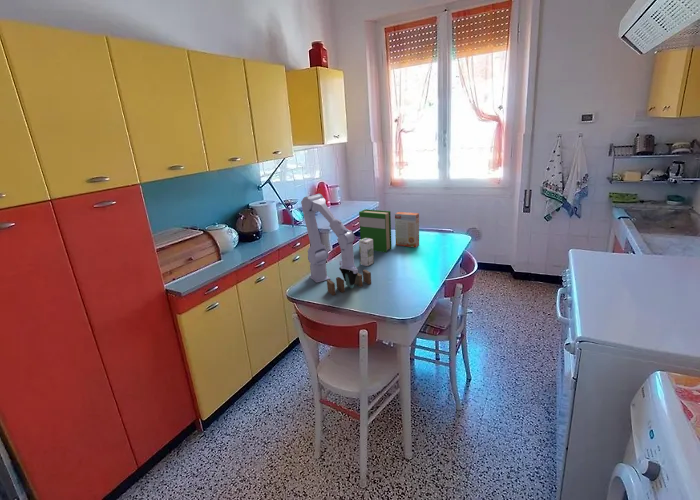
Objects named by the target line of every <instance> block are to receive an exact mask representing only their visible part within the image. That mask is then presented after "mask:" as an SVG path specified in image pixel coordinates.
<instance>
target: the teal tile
mask: <svg viewBox="0 0 700 500" xmlns="http://www.w3.org/2000/svg"><path fill="white" fill-rule="evenodd" d="M345 279H346V281H345V286H347V287H348V288H350V289H353V288H354V286H355V284H354V285H350V283H349V278H348V275H347V274H346V273H345Z"/></svg>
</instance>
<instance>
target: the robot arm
mask: <svg viewBox="0 0 700 500" xmlns="http://www.w3.org/2000/svg"><path fill="white" fill-rule="evenodd" d="M326 202H327V201H326V199H325V198H324V196H323V194H321V193H319V192H318V193H317V194H312V195H309V196H304V197H303V198H302V199H301V202H300V203H301V208H302V213H303V219H304V222H305V226H306V231H307V234H308V235H307V236H308V239H309V243H310V246H309V248H308V250H307V260H308V262H309V264H310V265H309V267H310V268H309V270H310V275H309V279H312V280H313V281H314V282H315V283H321V282H323V281H324V282H325V281H327V280H331V277H330V276H328V271H327V270H328V269H327V261H328V258H329V252H328V250H327V247H326V245H325V244H323V243H322V241H321V237H320V231H319V227H318V223H317V218H316V212H319V213H320V214H321V215H322V216H323V217H324V219H325V220H326V221H328V223H329V229H331V230H332V232H333V233H334V235H335V237H336V239H337V243H338V245H339V248H340V255H341V260H339V265H340V267H339V271H340V273H341V274H342V277H343V278H342V279H343V280H344V282H346V279H345V273H346V274H347V275H348V278H349V283H350V285H354V286H355V285H356V284H355V279H356V276H357V274H358V273H359V270H358V268H357V267H356V265H355V259H354V257H355V256H354V244H353V243H354V242H355V240H356V236H355V234H354V231H352V230H349V229H348V228H347V227H346V226H345V224H344V223H343V222H342V221H341V219H339V218H335V216H334V214H333V212H332V211H331V210H330V208H329V207H328V205H327V204H326Z"/></svg>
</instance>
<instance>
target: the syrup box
mask: <svg viewBox="0 0 700 500" xmlns="http://www.w3.org/2000/svg"><path fill="white" fill-rule="evenodd" d="M358 244H359V245H358V248H359V265H361V266H365V267H370V266H371V265H374V263H375V262H374V256H375V255H374V254H375V253H374V251H373V239H369V238H364V239H362V240H361V239H359V240H358Z"/></svg>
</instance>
